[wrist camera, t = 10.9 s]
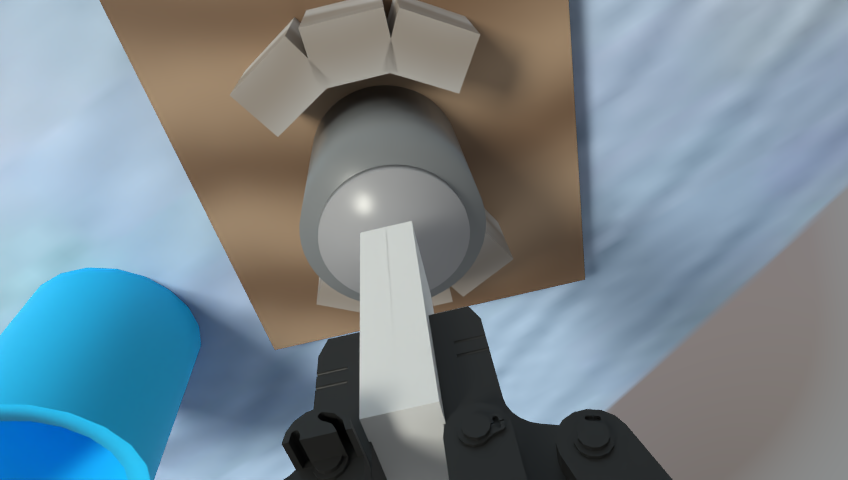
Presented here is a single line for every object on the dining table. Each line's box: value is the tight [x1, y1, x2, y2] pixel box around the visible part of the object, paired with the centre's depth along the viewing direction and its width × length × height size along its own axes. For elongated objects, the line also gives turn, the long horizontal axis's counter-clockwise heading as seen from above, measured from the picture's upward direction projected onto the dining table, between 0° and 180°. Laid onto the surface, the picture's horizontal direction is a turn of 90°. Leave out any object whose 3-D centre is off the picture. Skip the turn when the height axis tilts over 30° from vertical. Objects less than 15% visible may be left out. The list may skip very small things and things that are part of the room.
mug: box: [0, 268, 201, 480], centre depth 25 cm, size 12×8×8 cm
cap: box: [299, 85, 486, 301], centre depth 20 cm, size 6×6×6 cm
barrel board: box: [100, 0, 585, 350], centre depth 22 cm, size 18×16×4 cm
